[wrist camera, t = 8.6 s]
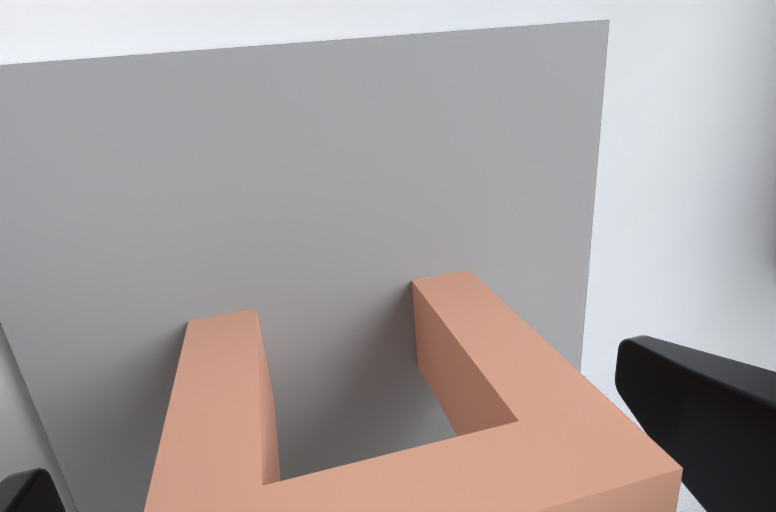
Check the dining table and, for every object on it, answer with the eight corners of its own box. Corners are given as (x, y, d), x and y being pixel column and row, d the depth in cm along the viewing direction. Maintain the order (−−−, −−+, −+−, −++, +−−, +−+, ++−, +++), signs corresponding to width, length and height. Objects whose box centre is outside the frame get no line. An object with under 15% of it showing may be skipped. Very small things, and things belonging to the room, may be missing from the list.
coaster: (558, 466, 14) (571, 482, 13) (124, 583, 12) (117, 608, 11) (589, 21, 10) (610, 19, 9) (-77, 71, 8) (-102, 73, 7)
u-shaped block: (471, 355, 11) (660, 601, 6) (211, 411, 10) (172, 771, 5) (469, 269, 10) (683, 467, 5) (188, 321, 9) (114, 633, 4)
